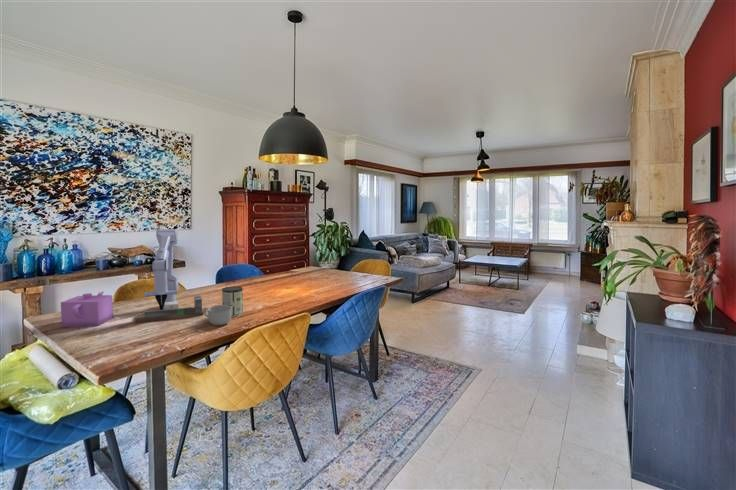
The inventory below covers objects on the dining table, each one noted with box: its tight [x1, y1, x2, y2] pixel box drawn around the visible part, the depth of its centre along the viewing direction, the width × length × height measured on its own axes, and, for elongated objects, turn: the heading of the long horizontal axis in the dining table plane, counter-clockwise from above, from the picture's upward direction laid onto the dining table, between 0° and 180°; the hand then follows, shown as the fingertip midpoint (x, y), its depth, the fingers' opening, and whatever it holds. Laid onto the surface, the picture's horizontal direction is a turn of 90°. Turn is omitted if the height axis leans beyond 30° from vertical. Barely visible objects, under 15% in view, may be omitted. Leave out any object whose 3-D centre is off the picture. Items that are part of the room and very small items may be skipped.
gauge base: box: [134, 294, 204, 324], centre depth 185 cm, size 12×30×8 cm, turn 119°
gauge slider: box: [164, 300, 179, 310], centre depth 184 cm, size 9×6×5 cm
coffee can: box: [221, 286, 244, 318], centre depth 190 cm, size 10×10×14 cm
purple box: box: [60, 291, 114, 328], centre depth 173 cm, size 15×25×14 cm, turn 10°
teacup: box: [202, 304, 232, 327], centre depth 175 cm, size 14×11×8 cm
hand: (161, 309), depth 183 cm, fingers closed
